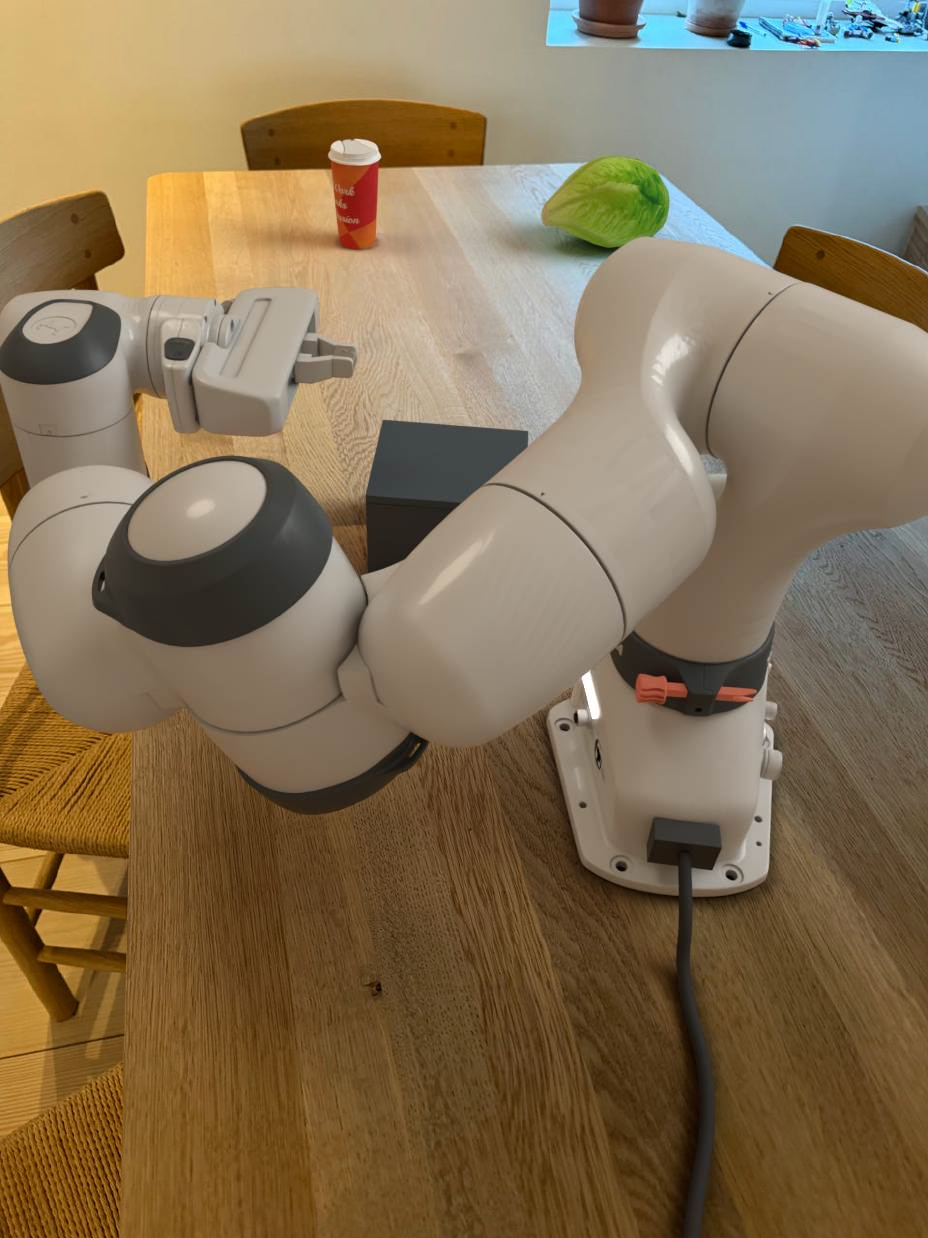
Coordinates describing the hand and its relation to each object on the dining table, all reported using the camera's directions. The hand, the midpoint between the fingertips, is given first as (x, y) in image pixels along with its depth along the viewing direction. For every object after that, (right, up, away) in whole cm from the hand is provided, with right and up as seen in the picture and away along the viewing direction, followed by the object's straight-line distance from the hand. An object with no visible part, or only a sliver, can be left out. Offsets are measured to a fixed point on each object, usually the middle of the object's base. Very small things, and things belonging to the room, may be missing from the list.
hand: (355, 361), depth 83 cm
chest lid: (+8, -8, +7) cm, 14 cm away
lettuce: (+31, +37, +69) cm, 84 cm away
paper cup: (-7, +36, +65) cm, 75 cm away
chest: (+7, -15, +14) cm, 21 cm away
